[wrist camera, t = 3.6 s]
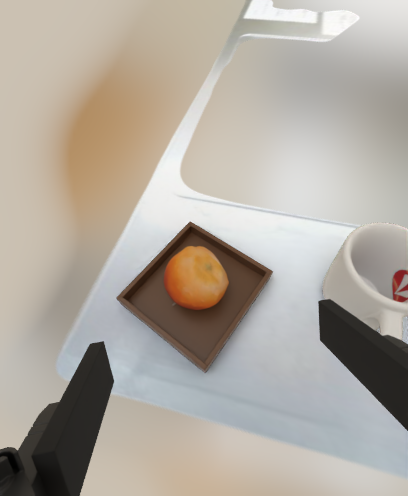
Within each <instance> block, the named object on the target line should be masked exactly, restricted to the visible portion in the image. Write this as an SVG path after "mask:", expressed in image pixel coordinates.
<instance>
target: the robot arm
mask: <svg viewBox="0 0 408 496" xmlns="http://www.w3.org/2000/svg"><path fill="white" fill-rule="evenodd" d="M318 303H319V326H320V341H321V342H322V343H323V344H324V345H325V346H326V347H327V348H328V349H329V350H330V351H331V352H332V353H333V354H334V355H335V356H336V357H337V358H338V359H339V360H340V361H341V362H342V363H343V364H344V365H345V366H346V367H347V368H348V370H349V371H350V372H351V373H352V374H353V375H354V376H355V377H356V378H357V379H358V380H359V381H360V382H361V383H362V384H363V385H364V386H365V387H366V388H367V389H368V390H369V391H370V392H371V393H372V394H373V395H374V396H375V397H376V399H377V400H378V401H379V402H380V403H381V404H382V405H383V406H384V407H385V408H386V409H387V410H388V411H389V412H390V413H391V414H392V415H393V416H394V417H395V418H396V419H397V420H398V421H399V422H400V423H401V424H402V425H403V426H404V427H405V429H406V430H407V431H408V344H406V343H405V342H403V341H402V340H400V339H398V338H395V337H393V336H390V335H383V336H382V335H381V334H379V333H378V332H377V331H375V330H374V329H372V328H371V327H369V326H368V325H367V324H365V323H364V322H362V321H361V320H360V319H358V318H357V317H355V316H354V315H352V314H351V313H350V312H348V311H347V310H345V309H344V308H343V307H341V306H340V305H338V304H337V303H335V302H334V301H333V300H331V299H326V300H321V301H318ZM113 383H114V379H113V375H112V372H111V368H110V364H109V360H108V356H107V352H106V349H105V345H104V341H103V342H97V343H92V344H90V345H89V347H88V349H87V351H86V353H85V355H84V357H83V358H82V360H81V362H80V364H79V366H78V368H77V370H76V372H75V374H74V375H73V377H72V379H71V381H70V383H69V385H68V387H67V389H66V391H65V393H64V394H63V396H62V399H61V400H60V402H57V403H52V404H49V405H48V406H47V407H46V408H45V409H44V410H43V411H42V412H41V413H40V414H39V416H38V418H37V419H36V421H35V422H34V424H33V427H31V429H30V431H29V433H28V436H27V437H26V438H25V439H24V441H23V443H22V445H21V446H20V448H19V450H18V451H17V450H16V449H15V448H12V447H7V448H4V449H0V496H80V492H81V489H82V486H83V482H84V479H85V476H86V473H87V469H88V466H89V463H90V459H91V456H92V453H93V449H94V446H95V443H96V439H97V436H98V433H99V430H100V426H101V423H102V420H103V416H104V413H105V410H106V406H107V403H108V400H109V396H110V393H111V390H112V387H113Z"/></svg>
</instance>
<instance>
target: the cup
mask: <svg viewBox="0 0 408 496" xmlns="http://www.w3.org/2000/svg"><path fill="white" fill-rule="evenodd" d="M323 296H324V299H325V300H326V299H331V300H333V301H334V302H335V303H337V304H338V305H340V306H341V307H343V308H344V309H345V310H347V311H348V312H350V313H351V314H352V315H354V316H355V317H357V318H358V319H360V320H361V321H362V322H364V323H365V324H367V325H368V326H369V327H371V328H372V329H374V330H375V331H377V329H378V328H379V327H380V334H381V335H382V336H383V335H390V336H393V337H395V338H398V339H400V340H402V334H403V326H402V323H403V318H404V317H407V316H408V228H406V227H403V226H399V225H396V224H391V223H370V224H366V225H363V226H360V227H358V228H357V229H355V230H354V231H353V232H351V233H350V234H349V236H348V237H347V238H346V240H345V242H344V243H343V245H342V247H341V249H340V250H339V252H338V254H337V256H336V257H335V259H334V261H333V263H332V264H331V266H330V268H329V270H328V271H327V273H326V275H325V278H324V281H323Z"/></svg>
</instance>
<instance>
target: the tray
mask: <svg viewBox="0 0 408 496" xmlns="http://www.w3.org/2000/svg"><path fill="white" fill-rule="evenodd" d="M188 246H193V247H198V246H201V247H205V248H206V249H208V250H209V251H211V252H212V253H213V254H214V255H215V256H216V258H217V259H218V260H219V262H220V264H221V265H222V267H223V269H224V270H225V272H226V274H227V278H228V281H229V284H228V286H227V289H226V291H225V294H224V296H223V297H222V298H221V300H220V301H219V302H218V303H217V304H215V305H214V306H212V307H209V308H206V309H201V310H192V309H187V308H184V307H181V306H180V305H178V304H177V303H176V304H175V305H174V306H173V305H172V304H173V303H174V301H173V300H172V299H171V298H170V296H169V294H168V293H167V291H166V289H165V286H164V273H165V270H166V267H167V265H168V263H169V261H170V260H171V259H172V258H173V257H174V256H175V255H176V254H178V253H179V252H181V251H182V250H183V249H184V248H186V247H188ZM272 272H273V271H271V270H270V269H268V268H266V267H265V266H263V265H261V264H260V263H258V262H256V261H255V260H253V259H252V258H250V257H248V256H247V255H245V254H243V253H242V252H240V251H238V250H237V249H235V248H233V247H232V246H230V245H228V244H227V243H225V242H223V241H222V240H220V239H218V238H217V237H215V236H213V235H212V234H210V233H209V232H207V231H205V230H204V229H202V228H200V227H199V226H197V225H195V224H194V223H192V222H189V223H188V224H187V225H186V226H185V227H184V228H183V229H182V230H181V231H180V232H179V233H178V234H177V235H176V237H175V238H174V239H173V240H172V241H171V242H170V243H169V244H168V245H167V246H166V247H165V248H164V249H163V250H162V251H161V252H160V253H159V254H158V255H157V256H156V257H155V258H154V259H153V260H152V261H151V262H150V263H149V265H148V266H147V267H146V268H145V269H144V270H143V271H142V272H141V273H140V274H139V275H138V276H137V277H136V278H135V279H134V280H133V281H132V282H131V283H130V284H129V285H128V286H127V287H126V288H125V289H124V290H123V291H122V293H121V294H120V295H119V296H118V297H117V300H118V301H119V302H120V303H121V304H122V305H123V306H124V307H125V308H126V309H128V310H129V311H130V312H131V313H133V314H134V315H135V316H136V317H137V318H139V319H140V320H141V321H142V322H143V323H145V324H146V325H147V326H148V327H150V328H151V329H152V330H153V331H154V332H156V333H157V334H158V335H159V336H161V337H162V338H163V339H164V340H165V341H167V342H168V343H169V344H170V345H171V346H173V347H174V348H175V349H176V350H178V351H179V352H180V353H181V354H182V355H184V356H185V357H186V358H187V359H189V360H190V361H191V362H192V363H193V364H195V365H196V366H197V367H198V368H199V369H201V370H202V371H203V372H204V373H206V372H207V370H208V369H209V367H210V366H211V364H212V363H213V361H214V360H215V358H216V357H217V355H218V354H219V352H220V351H221V349H222V348H223V347H224V345H225V344H226V342H227V341H228V339H229V338H230V336H231V335H232V333H233V332H234V330H235V329H236V327H237V326H238V325H239V323H240V322H241V320H242V319H243V317H244V316H245V314H246V313H247V311H248V310H249V308H250V307H251V305H252V304H253V302H254V301H255V300H256V298H257V297H258V295H259V294H260V292H261V291H262V289H263V288H264V286H265V285H266V283H267V282H268V280H269V279H270V277H271V275H272Z"/></svg>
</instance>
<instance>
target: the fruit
mask: <svg viewBox="0 0 408 496" xmlns="http://www.w3.org/2000/svg"><path fill="white" fill-rule="evenodd" d="M228 284H229V281H228V278H227V274H226V272H225V270H224V269H223V267H222V265H221V264H220V262H219V260H218V259H217V258H216V256H215V255H214V254H213V253H212V252H211V251H209V250H208V249H206V248H205V247H201V246H198V247H193V246H188V247H186V248H184V249H183V250H182V251H181V252H179V253H178V254H176V255H175V256H174V257H173V258H172V259H171V260H170V261H169V263H168V265H167V267H166V270H165V273H164V286H165V289H166V291H167V293H168V294H169V296H170V298H171V299H172V300H173V301H174V303H173V304H172V305H173V306H174V305H175V304H176V303H177V304H178V305H180V306H181V307H184V308H187V309H192V310H201V309H206V308H209V307H212V306H214V305H215V304H217V303H218V302H219V301H220V300H221V298H222V297H223V296H224V294H225V291H226V289H227V286H228Z"/></svg>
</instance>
